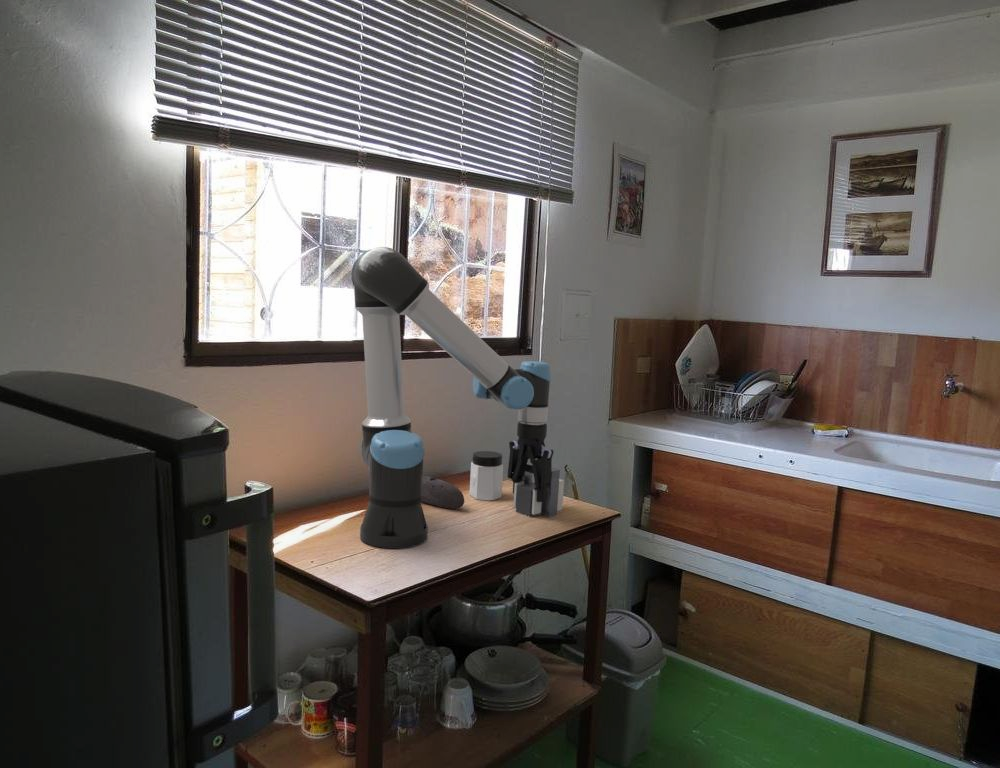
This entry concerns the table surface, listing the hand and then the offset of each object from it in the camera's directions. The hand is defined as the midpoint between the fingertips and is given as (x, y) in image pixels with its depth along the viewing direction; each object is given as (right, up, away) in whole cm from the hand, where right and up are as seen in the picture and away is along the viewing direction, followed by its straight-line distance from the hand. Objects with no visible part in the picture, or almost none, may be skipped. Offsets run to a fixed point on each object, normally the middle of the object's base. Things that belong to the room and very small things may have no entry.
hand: (527, 510), depth 183 cm
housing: (+3, -1, +3) cm, 4 cm away
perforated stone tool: (-23, 0, +3) cm, 23 cm away
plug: (+4, -1, +4) cm, 5 cm away
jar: (-11, +1, +14) cm, 18 cm away
